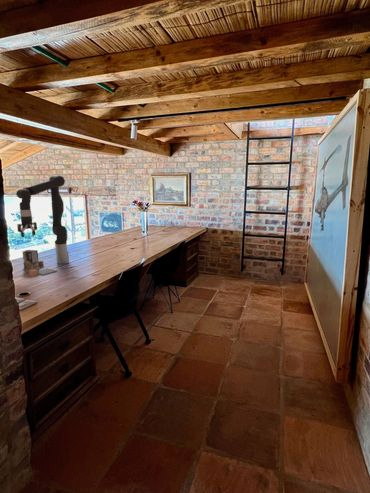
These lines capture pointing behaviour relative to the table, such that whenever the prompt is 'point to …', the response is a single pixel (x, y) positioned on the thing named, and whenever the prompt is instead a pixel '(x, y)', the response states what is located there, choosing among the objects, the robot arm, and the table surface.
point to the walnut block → (40, 263)
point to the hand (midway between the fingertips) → (28, 236)
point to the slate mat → (46, 271)
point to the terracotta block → (33, 272)
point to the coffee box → (30, 260)
